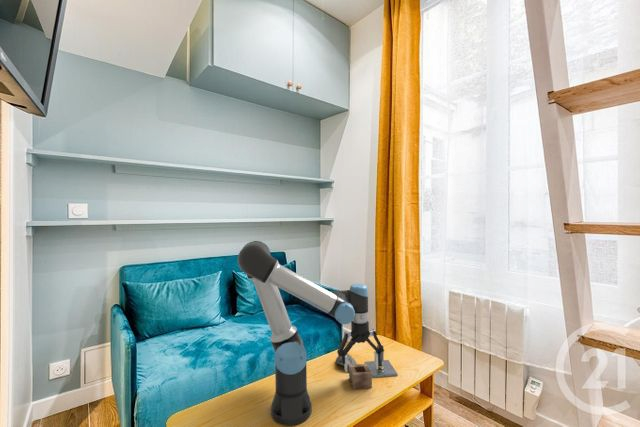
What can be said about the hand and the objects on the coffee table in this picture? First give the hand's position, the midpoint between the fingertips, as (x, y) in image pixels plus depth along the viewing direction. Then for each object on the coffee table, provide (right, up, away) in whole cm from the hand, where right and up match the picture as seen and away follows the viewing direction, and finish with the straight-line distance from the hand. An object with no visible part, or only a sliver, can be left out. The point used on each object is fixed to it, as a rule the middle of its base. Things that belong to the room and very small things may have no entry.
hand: (361, 369), depth 128 cm
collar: (0, -6, 0) cm, 6 cm away
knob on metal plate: (+10, -6, +10) cm, 16 cm away
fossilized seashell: (-5, -6, +14) cm, 17 cm away
